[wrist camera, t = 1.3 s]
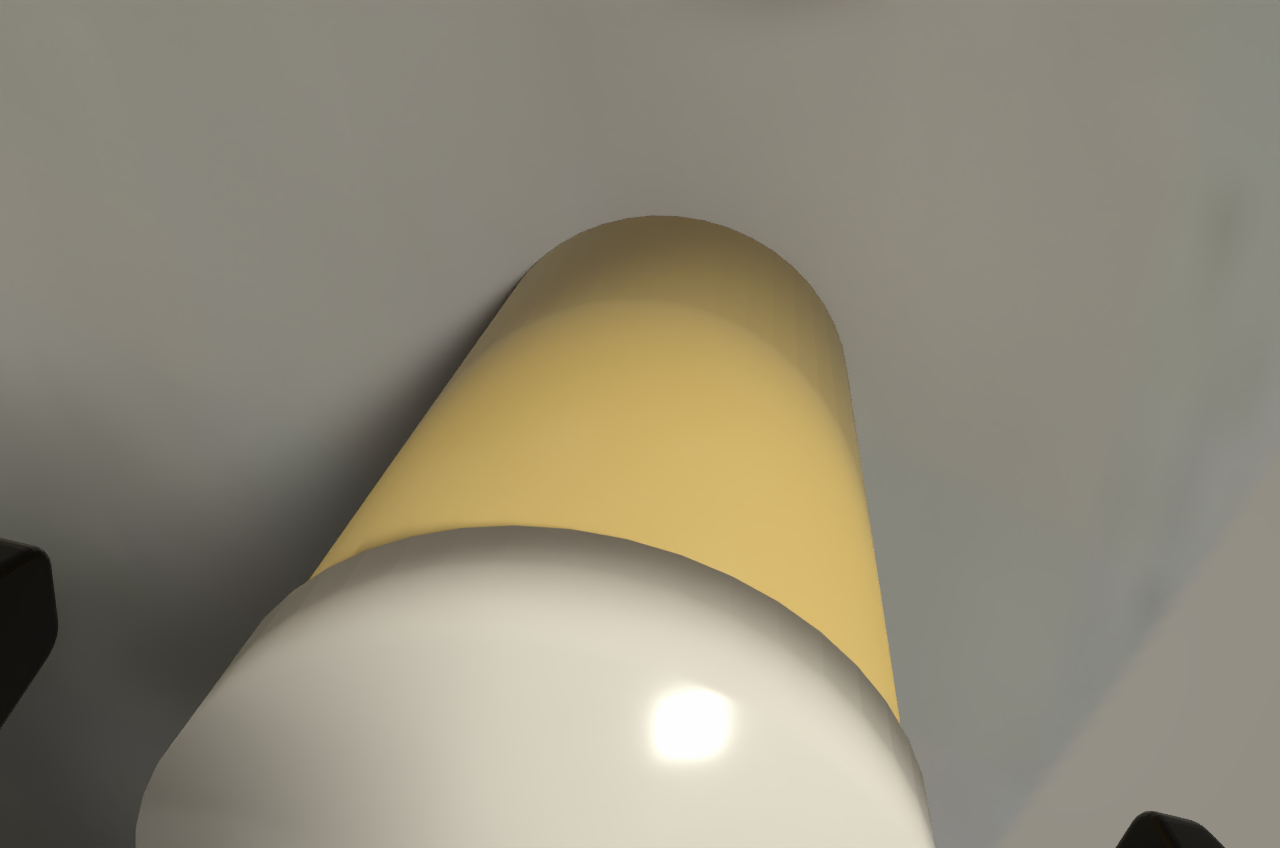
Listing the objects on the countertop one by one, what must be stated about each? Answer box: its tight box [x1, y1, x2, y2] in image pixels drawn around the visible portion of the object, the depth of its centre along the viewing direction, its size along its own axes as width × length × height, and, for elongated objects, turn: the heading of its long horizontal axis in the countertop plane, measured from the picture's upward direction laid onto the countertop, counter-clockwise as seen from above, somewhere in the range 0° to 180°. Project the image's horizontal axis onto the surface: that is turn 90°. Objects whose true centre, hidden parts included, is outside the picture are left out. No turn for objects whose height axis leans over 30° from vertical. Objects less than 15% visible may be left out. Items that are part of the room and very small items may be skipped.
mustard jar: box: [136, 216, 935, 848], centre depth 9 cm, size 5×5×8 cm
